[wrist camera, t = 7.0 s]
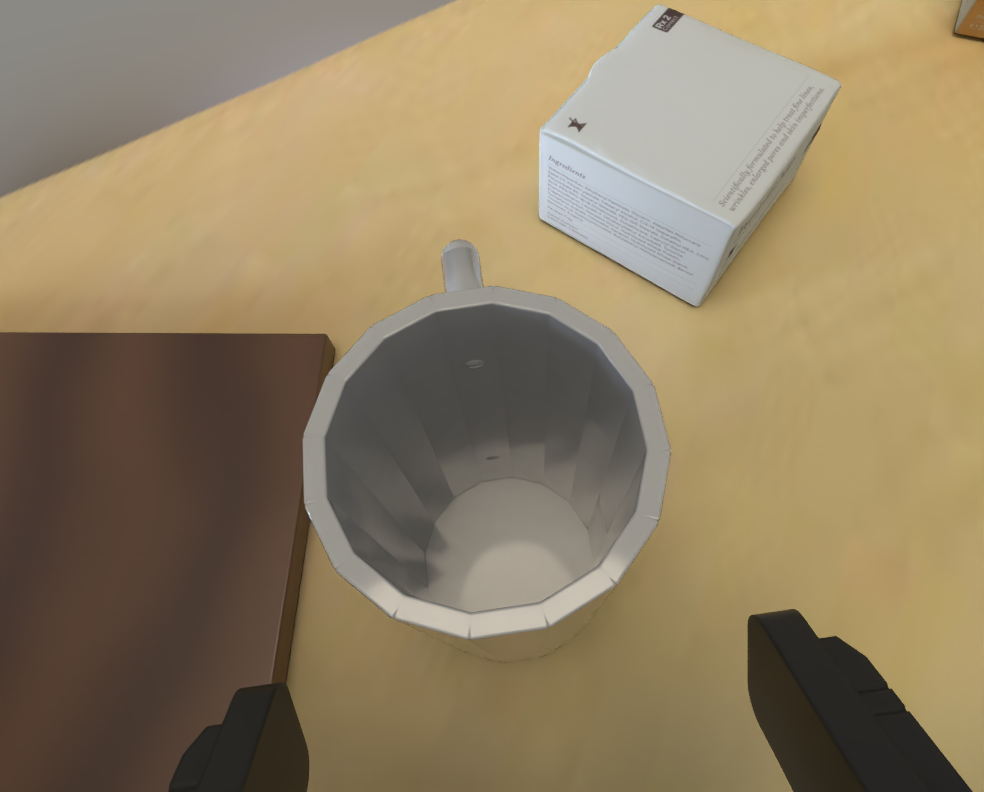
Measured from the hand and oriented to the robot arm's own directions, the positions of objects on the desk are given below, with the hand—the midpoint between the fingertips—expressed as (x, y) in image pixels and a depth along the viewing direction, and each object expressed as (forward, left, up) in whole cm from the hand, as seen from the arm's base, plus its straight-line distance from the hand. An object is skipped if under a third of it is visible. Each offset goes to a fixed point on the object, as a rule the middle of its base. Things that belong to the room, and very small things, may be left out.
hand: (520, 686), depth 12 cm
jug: (-1, +5, -10) cm, 11 cm away
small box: (+5, +19, -10) cm, 22 cm away
